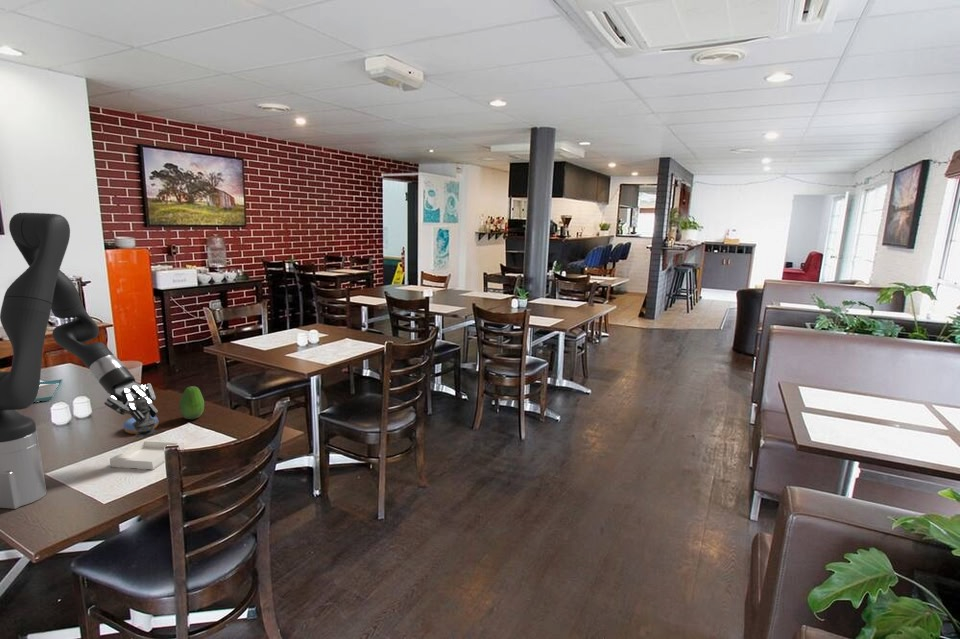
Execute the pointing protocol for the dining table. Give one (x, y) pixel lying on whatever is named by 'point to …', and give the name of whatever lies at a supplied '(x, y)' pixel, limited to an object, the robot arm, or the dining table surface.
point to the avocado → (191, 403)
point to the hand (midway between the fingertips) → (149, 417)
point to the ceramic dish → (143, 455)
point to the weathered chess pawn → (148, 424)
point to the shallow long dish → (53, 393)
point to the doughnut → (130, 428)
